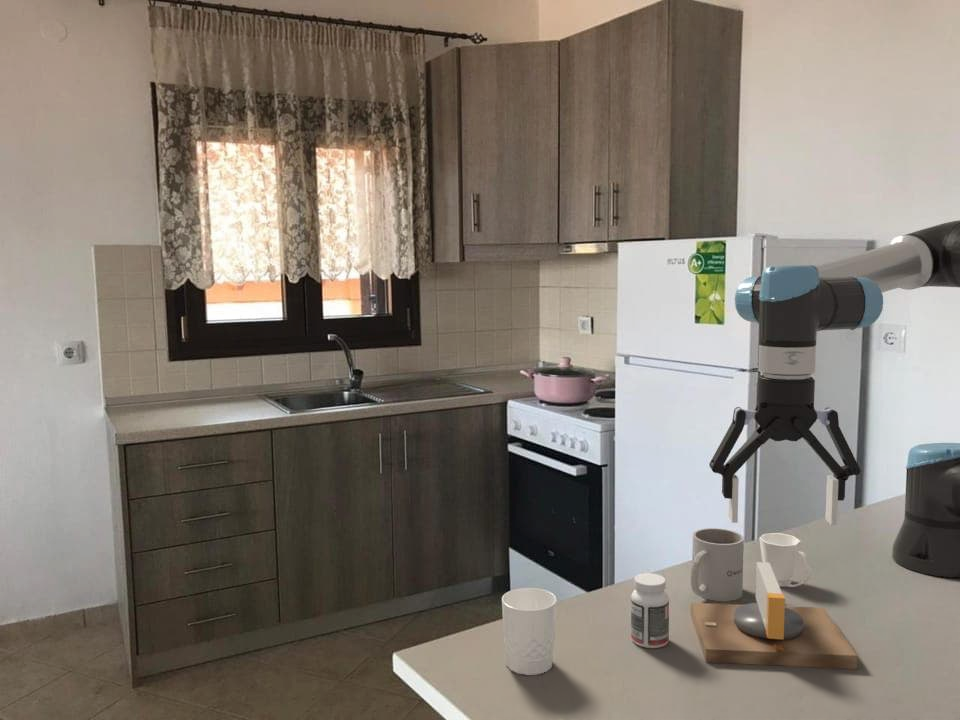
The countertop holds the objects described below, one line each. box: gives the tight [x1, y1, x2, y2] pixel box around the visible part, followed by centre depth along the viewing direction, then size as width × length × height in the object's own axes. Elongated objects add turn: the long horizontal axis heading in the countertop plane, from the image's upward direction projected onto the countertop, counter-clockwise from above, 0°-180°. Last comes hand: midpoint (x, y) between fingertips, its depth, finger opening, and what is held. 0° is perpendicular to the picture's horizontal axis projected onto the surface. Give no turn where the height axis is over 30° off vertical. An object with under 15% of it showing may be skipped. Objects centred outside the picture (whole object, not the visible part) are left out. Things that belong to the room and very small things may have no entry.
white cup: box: [501, 587, 557, 676], centre depth 117 cm, size 8×8×10 cm
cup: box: [758, 532, 812, 588], centre depth 144 cm, size 7×10×8 cm
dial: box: [734, 561, 803, 640], centre depth 123 cm, size 14×10×7 cm
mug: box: [690, 527, 745, 602], centre depth 140 cm, size 12×9×10 cm
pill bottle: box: [630, 572, 670, 649], centre depth 123 cm, size 6×6×10 cm
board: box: [690, 602, 858, 670], centre depth 123 cm, size 21×16×2 cm
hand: (781, 521), depth 116 cm, fingers open, 13 cm apart
